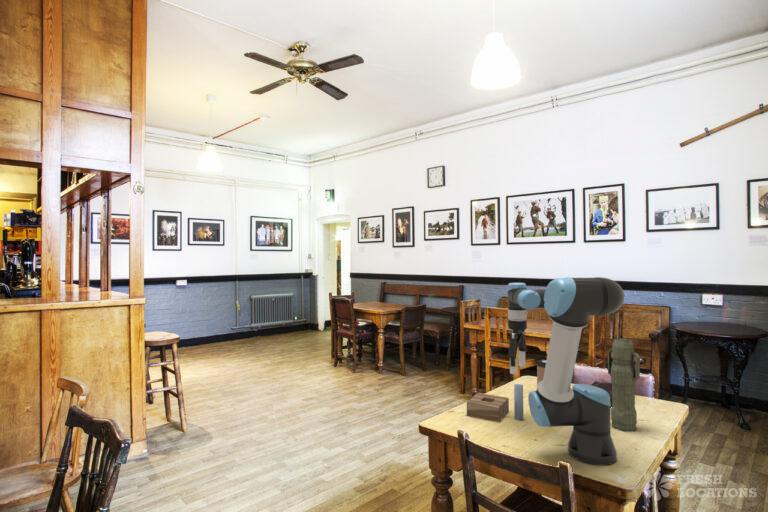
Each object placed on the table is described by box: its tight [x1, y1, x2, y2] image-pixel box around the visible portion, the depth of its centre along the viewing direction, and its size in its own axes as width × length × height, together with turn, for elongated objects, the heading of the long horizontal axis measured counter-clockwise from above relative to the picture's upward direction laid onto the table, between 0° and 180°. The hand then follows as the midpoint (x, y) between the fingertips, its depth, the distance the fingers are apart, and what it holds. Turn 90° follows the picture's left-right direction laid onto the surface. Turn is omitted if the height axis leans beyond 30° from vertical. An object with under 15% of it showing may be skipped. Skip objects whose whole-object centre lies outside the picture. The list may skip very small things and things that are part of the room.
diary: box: [590, 380, 612, 409], centre depth 204 cm, size 19×25×5 cm
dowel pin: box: [513, 383, 524, 421], centre depth 181 cm, size 4×4×14 cm
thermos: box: [606, 337, 641, 432], centre depth 171 cm, size 9×12×35 cm
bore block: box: [466, 392, 510, 423], centre depth 187 cm, size 14×14×6 cm
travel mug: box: [536, 358, 547, 386], centre depth 198 cm, size 8×8×20 cm
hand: (517, 370), depth 181 cm, fingers open, 13 cm apart
